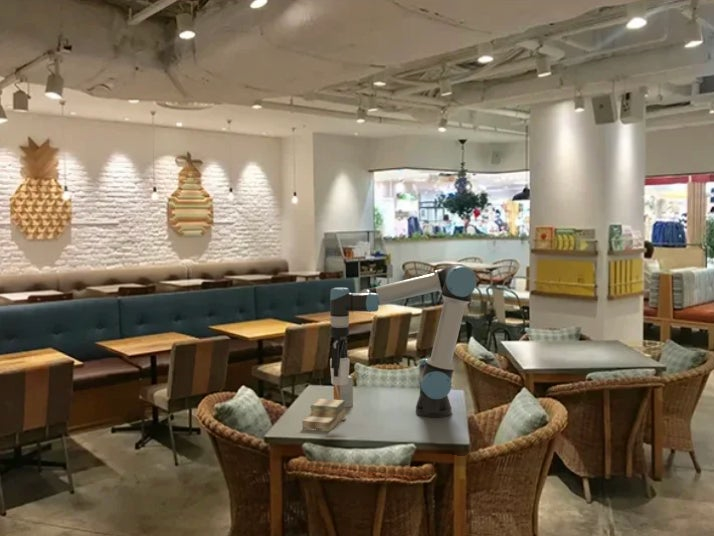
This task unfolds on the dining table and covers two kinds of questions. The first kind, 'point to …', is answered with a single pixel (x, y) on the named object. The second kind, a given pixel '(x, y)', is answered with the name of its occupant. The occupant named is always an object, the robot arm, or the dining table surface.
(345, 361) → the white cup
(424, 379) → the robot arm
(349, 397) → the small box
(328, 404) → the riser
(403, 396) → the dining table surface
